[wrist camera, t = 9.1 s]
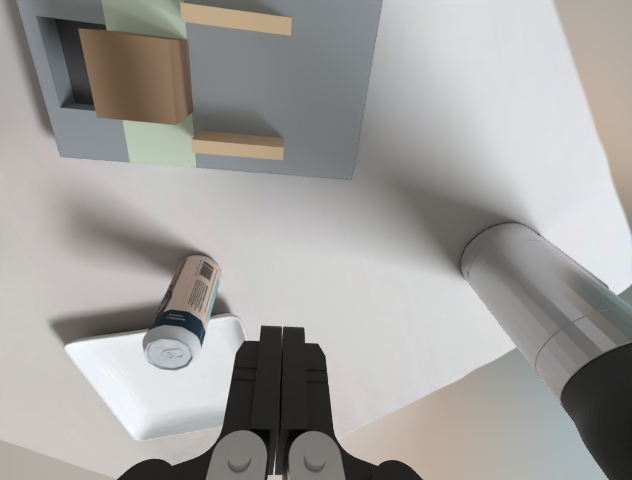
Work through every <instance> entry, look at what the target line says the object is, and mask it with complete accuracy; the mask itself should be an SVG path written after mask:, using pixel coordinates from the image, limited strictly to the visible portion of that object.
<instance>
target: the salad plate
mask: <svg viewBox="0 0 632 480" xmlns="http://www.w3.org/2000/svg"><path fill="white" fill-rule="evenodd" d="M148 330H149V328H148V329H142V330H136V331H129V332H122V333H114V334H107V335H99V336H92V337H86V338H81V339H77V340H74V341H71V342H69V343H67V344H66V345H64V351H65V353H66V354H67V355H68V357H69V358H70V359H71V361H72V362H73V363H74V365H75V366H76V367H77V368H78V370H79V371H80V372H81V373H82V375H83V376H84V377H85V379H86V380H87V381H88V382H89V384H90V385H91V386H92V387H93V389H94V390H95V391H96V392H97V394H98V395H99V396H100V398H101V399H102V400H103V401H104V403H105V404H106V405H107V407H108V408H109V409H110V410H111V412H112V413H113V414H114V416H115V417H116V418H117V419H118V421H119V422H120V423H121V425H122V426H123V427H124V428H125V430H126V431H127V432H128V434H129V435H130V436H131V437H132V438H133V439H134V440H135V441H138V442H140V441H147V440H152V439H159V438H164V437H170V436H175V435H181V434H187V433H193V432H198V431H204V430H209V429H215V428H220V427H223V422H224V416H225V411H226V405H227V399H228V394H229V388H230V383H231V377H232V372H233V366H234V361H235V355H236V352H237V350H238V349H239V348H240V346H241V345H242V343H243V342H244V341H248V338H247V334H246V331H245V328H244V326H243V323H242V321H241V319H240V318H239V317H238V316H236V315H234V314H230V313H226V314H219V315H215V316H210V319H209V322H208V326H207V330H206V333H205V337H204V341H203V344H202V348H201V351H200V354H199V355H198V357H197V358H196V359H195V360H194V361H193V362H192V363H190V364H189V366H188V367H185V368H183V369H180V370H177V371H170V370H160V369H158V368H157V367H155V366H153V365H151V364H149V363H148V362H147V360H146V357H145V355H144V353H143V352H144V350H143V346H142V342H143V338H144V336H145V334H146V333H147V332H148Z"/></svg>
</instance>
